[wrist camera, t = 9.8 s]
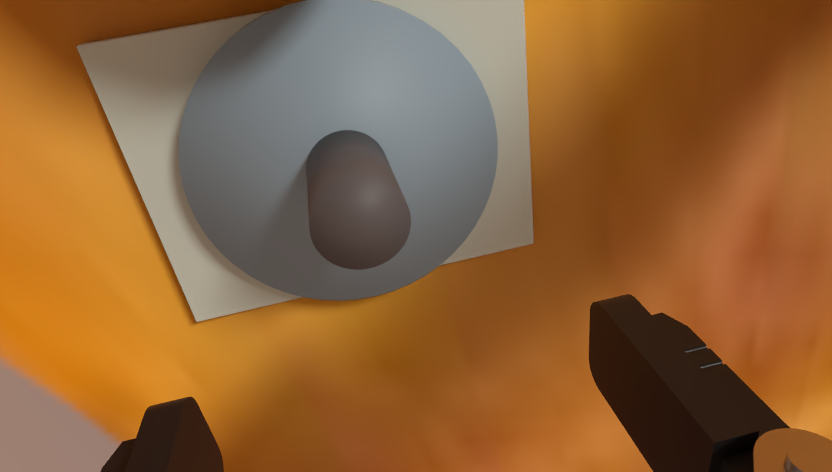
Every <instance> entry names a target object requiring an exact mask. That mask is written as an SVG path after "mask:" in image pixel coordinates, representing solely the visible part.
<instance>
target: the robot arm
mask: <svg viewBox="0 0 832 472" xmlns="http://www.w3.org/2000/svg"><path fill="white" fill-rule="evenodd" d="M589 364H590V369H591V372H592V376H593V378H594V381H595V383H596V385H597V387H598V389H599V390H600V392H601V393H602V395H603V396H604V398H605V399H606V401H607V402H608V404H609V405H610V407H611V408H612V410H613V411H614V413H615V414H616V416H617V417H618V419H619V420H620V422H621V423H622V425H623V426H624V428H625V429H626V431H627V432H628V434H629V435H630V437H631V438H632V440H633V441H634V443H635V444H636V446H637V447H638V449H639V451H640V452H641V454H642V455H643V457H644V458H645V460H646V461H647V463H648V464H649V466H650V467H651V469H652V470H653V472H832V441H831V440H829V439H827V438H825V437H823V436H820V435H818V434H815V433H812V432H809V431H805V430H800V429H793V428H790V427H789V426H788V425H786V424H785V423H784V422H783V421H782V420H781V419H780V418H779V417H778V416H777V415H776V414H775V413H774V412H773V411H772V410H771V409H770V408H769V407H768V406H767V405H766V404H765V403H764V402H763V401H762V400H761V399H760V398H759V397H758V396H757V395H756V394H755V393H754V392H753V391H752V390H751V389H750V388H749V387H748V386H747V385H746V384H745V383H744V382H743V381H742V380H741V379H740V378H739V377H738V376H737V375H736V374H735V373H734V372H733V371H732V370H731V369H730V368H729V367H728V366H727V365H726V364H724V365H723V363H722V360H721V359H720V358H719V357H718V356H717V355H716V354H715V353H714V352H713V351H712V350H711V349H707V347H706V344H705V343H704V342H703V341H702V340H701V339H700V338H699V337H698V336H697V335H696V334H695V333H694V332H693V331H692V330H691V329H690V328H689V327H688V326H686V325H684V324H682V323H681V322H679V321H677V320H675V319H673V318H671V317H669V316H667V315H665V314H664V313H659V314H655V315H651V314H650V313H649V312H648V311H647V310H646V309H645V308H644V307H643V306H642V305H641V303H640V302H639V301H638V300H637V299H636V298H635V297H633V296H632V295H629V294H627V295H623V296H618V297H614V298H610V299H606V300H602V301H597V302H594V303H592V305H591V308H590V332H589ZM101 472H224V469H223V461H222V456H221V452H220V449H219V447H218V445H217V443H216V441H215V439H214V436H213V434H212V432H211V430H210V428H209V426H208V424H207V422H206V420H205V418H204V416H203V414H202V412H201V410H200V408H199V406H198V404H197V402H196V401H195V399H194V398H192V397H186V398H182V399H178V400H174V401H169V402H165V403H161V404H157V405H153V406H150V407H148V408H147V410H146V411H145V414H144V417H143V419H142V422H141V425H140V428H139V431H138V434H137V437H136V438H135V439H131V440H127V441H123V442H122V443H121V444H120V446H119V447H118V448H117V450H116V451H115V452H114V454H113V455H112V456H111V457H110V459H109V460H108V461H107V463H106V464H105V465H104V466H103V468H102V470H101Z"/></svg>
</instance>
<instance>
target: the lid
mask: <svg viewBox="0 0 832 472" xmlns="http://www.w3.org/2000/svg"><path fill="white" fill-rule="evenodd" d="M497 158H498V138H497V130H496V123H495V118H494V114H493V111H492V107H491V103H490V100H489V98H488V95H487V93H486V91H485V89H484V86H483V84H482V82H481V80H480V78H479V77H478V75H477V74H476V72H475V70H474V69H473V67H472V65H471V64H470V63H469V62H468V60H467V59H466V58H465V57H464V55H463V54H462V53H461V52H460V51H459V49H458V48H457V47H456V46H455V45H454V44H452V43H451V42H450V41H449V40H448V39H447V38H446V37H445V36H444V35H443V34H442V33H440V32H439V31H437V30H436V29H434V28H433V27H431V26H430V25H428V24H427V23H426V22H424V21H422V20H421V19H419V18H417V17H415V16H413V15H411V14H409V13H407V12H405V11H403V10H401V9H399V8H396V7H393V6H390V5H387V4H384V3H381V2H378V1H373V0H302V1H298V2H294V3H290V4H286V5H284V6H281V7H279V8H276V9H274V10H272V11H269V12H267V13H265V14H263V15H261V16H260V17H258V18H256V19H255V20H253V21H251V22H250V23H248V24H246V25H245V26H244V27H243V28H241V29H240V30H239V31H238V32H236V33H235V34H234V35H233V36H232V37H230V38H229V39H228V40H227V41H226V42H225V43H224V44H223V46H222V47H221V48H220V49H219V50H218V51H217V52H216V53H215V54H214V55H213V57H212V58H211V59H210V61H209V62H208V64H207V65H206V67H205V68H204V70H203V71H202V73H201V74H200V76H199V77H198V79H197V81H196V83H195V85H194V87H193V89H192V91H191V94H190V96H189V98H188V100H187V104H186V107H185V110H184V114H183V117H182V121H181V128H180V135H179V167H180V173H181V179H182V184H183V188H184V191H185V194H186V197H187V200H188V203H189V206H190V208H191V210H192V212H193V214H194V216H195V218H196V220H197V222H198V224H199V225H200V227H201V228H202V230H203V231H204V233H205V234H206V236H207V237H208V239H209V240H210V241H211V242H212V243H213V244H214V246H215V247H216V248H217V249H218V250H219V251H220V253H222V254H223V255H224V256H225V257H226V258H227V259H228V260H229V261H230V262H232V263H233V264H234V265H235V266H236V267H238V268H239V269H241V270H242V271H243V272H245V273H246V274H248V275H249V276H251V277H252V278H254V279H256V280H258V281H260V282H262V283H264V284H266V285H267V286H270V287H273V288H275V289H278V290H280V291H283V292H285V293H289V294H293V295H297V296H300V297H305V298H312V299H319V300H336V301H341V300H356V299H363V298H368V297H374V296H378V295H381V294H385V293H388V292H392V291H394V290H397V289H399V288H402V287H404V286H406V285H409V284H411V283H413V282H415V281H416V280H418V279H420V278H422V277H424V276H425V275H427V274H428V273H430V272H431V271H433V270H434V269H435V268H437V267H438V266H440V265H441V264H442V263H443V262H444V261H445V260H447V259H448V258H449V257H450V256H451V255H452V254H453V253H454V252H455V251H456V250H457V249H458V248H459V247H460V246H461V244H462V243H463V242H464V241H465V240H466V238H467V237H468V236H469V234H470V233H471V231H472V230H473V229H474V227H475V226H476V224H477V222H478V220H479V218H480V217H481V215H482V213H483V211H484V209H485V207H486V204H487V201H488V199H489V196H490V194H491V190H492V187H493V183H494V179H495V174H496V166H497Z"/></svg>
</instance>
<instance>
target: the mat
mask: <svg viewBox="0 0 832 472" xmlns="http://www.w3.org/2000/svg"><path fill="white" fill-rule="evenodd" d="M373 1H378V2H381V3H384V4H387V5H390V6H393V7H396V8H399V9H401V10H403V11H405V12H407V13H409V14H411V15H413V16H415V17H417V18H419V19H421V20H422V21H424V22H426V23H427V24H428V25H430V26H431V27H433V28H434V29H436V30H437V31H439V32H440V33H442V34H443V35H444V36H445V37H446V38H447V39H448V40H449V41H450V42H451V43H452V44H454V45H455V46H456V47H457V48H458V49H459V51H460V52H461V53H462V54H463V55H464V57H465V58H466V59H467V60H468V62H469V63H470V64H471V65H472V67H473V69H474V70H475V72H476V74H477V75H478V77H479V78H480V80H481V82H482V84H483V86H484V89H485V91H486V93H487V95H488V98H489V100H490V103H491V107H492V111H493V114H494V118H495V123H496V130H497V138H498V158H497V166H496V174H495V179H494V183H493V187H492V190H491V194H490V196H489V199H488V201H487V204H486V207H485V209H484V211H483V213H482V215H481V217H480V218H479V220H478V222H477V224H476V226H475V227H474V229H473V230H472V231H471V233H470V234H469V236H468V237H467V238H466V240H465V241H464V242H463V243H462V244H461V246H460V247H459V248H458V249H457V250H456V251H455V252H454V253H453V254H452V255H451V256H450V257H449V258H448V259H447V260H445V261H444V262H443V263H442V264H441V265H444V264H448V263H452V262H457V261H461V260H465V259H470V258H474V257H478V256H483V255H487V254H491V253H496V252H500V251H504V250H508V249H513V248H517V247H521V246H526V245H530V244H534V236H533V211H532V186H531V162H530V137H529V113H528V88H527V64H526V39H525V15H524V0H373ZM270 11H272V10H270ZM267 12H269V11H265V12H259V13H253V14H248V15H242V16H236V17H231V18H225V19H219V20H214V21H208V22H202V23H197V24H191V25H185V26H180V27H174V28H168V29H163V30H157V31H151V32H145V33H140V34H134V35H128V36H123V37H117V38H111V39H106V40H100V41H94V42H89V43H83V44H80V45H78V46H76V47H77V50H78V52H79V54H80V57H81V59H82V61H83V63H84V66H85V68H86V70H87V73H88V75H89V77H90V79H91V82H92V84H93V86H94V89H95V91H96V93H97V95H98V98H99V100H100V102H101V105H102V107H103V109H104V111H105V114H106V116H107V118H108V121H109V123H110V125H111V127H112V130H113V132H114V134H115V137H116V139H117V141H118V143H119V146H120V148H121V150H122V153H123V155H124V157H125V159H126V162H127V164H128V166H129V169H130V171H131V173H132V175H133V178H134V180H135V182H136V185H137V187H138V189H139V191H140V194H141V196H142V198H143V201H144V203H145V205H146V207H147V210H148V212H149V214H150V217H151V219H152V221H153V223H154V226H155V228H156V230H157V233H158V235H159V237H160V239H161V242H162V244H163V246H164V249H165V251H166V253H167V255H168V258H169V260H170V262H171V265H172V267H173V269H174V271H175V274H176V276H177V278H178V281H179V283H180V285H181V287H182V290H183V292H184V294H185V297H186V299H187V301H188V303H189V306H190V308H191V310H192V313H193V315H194V317H195V320H196V322H199V321H203V320H207V319H212V318H216V317H220V316H224V315H229V314H233V313H237V312H242V311H246V310H250V309H255V308H259V307H263V306H268V305H272V304H276V303H280V302H285V301H289V300H293V299H298V298H302V297H300V296H297V295H293V294H289V293H285V292H283V291H280V290H278V289H275V288H273V287H270V286H267V285H266V284H264V283H262V282H260V281H258V280H256V279H254V278H252V277H251V276H249V275H248V274H246V273H245V272H243V271H242V270H241V269H239V268H238V267H236V266H235V265H234V264H233V263H232V262H230V261H229V260H228V259H227V258H226V257H225V256H224V255H223V254H222V253H220V251H219V250H218V249H217V248H216V247H215V246H214V244H213V243H212V242H211V241H210V240H209V239H208V237H207V236H206V234H205V233H204V231H203V230H202V228H201V227H200V225H199V224H198V222H197V220H196V218H195V216H194V214H193V212H192V210H191V208H190V206H189V203H188V200H187V197H186V194H185V191H184V188H183V184H182V179H181V173H180V167H179V135H180V128H181V121H182V117H183V114H184V110H185V107H186V104H187V100H188V98H189V96H190V94H191V91H192V89H193V87H194V85H195V83H196V81H197V79H198V77H199V76H200V74H201V73H202V71H203V70H204V68H205V67H206V65H207V64H208V62H209V61H210V59H211V58H212V57H213V55H214V54H215V53H216V52H217V51H218V50H219V49H220V48H221V47H222V46H223V44H224V43H225V42H226V41H227V40H228V39H229V38H230V37H232V36H233V35H234V34H235V33H236V32H238V31H239V30H240V29H241V28H243V27H244V26H245V25H246V24H248V23H250V22H251V21H253V20H255V19H256V18H258V17H260V16H261V15H263V14H265V13H267Z"/></svg>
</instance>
